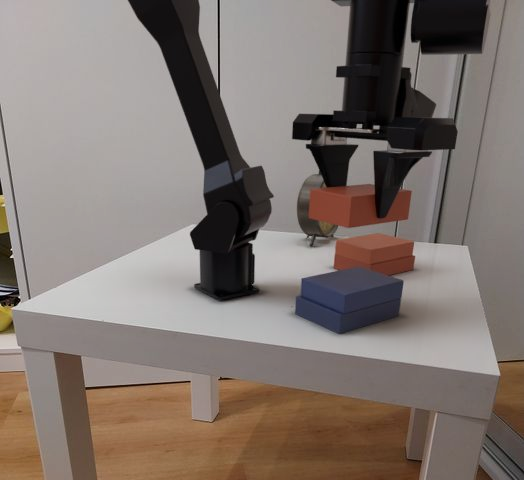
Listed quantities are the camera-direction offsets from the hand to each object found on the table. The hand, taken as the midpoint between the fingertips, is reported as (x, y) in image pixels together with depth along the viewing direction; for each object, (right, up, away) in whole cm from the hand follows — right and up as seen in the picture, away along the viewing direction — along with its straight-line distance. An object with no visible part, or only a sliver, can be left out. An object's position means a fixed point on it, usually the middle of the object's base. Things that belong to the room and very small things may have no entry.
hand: (359, 213), depth 60 cm
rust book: (0, -1, 0) cm, 1 cm away
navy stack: (-1, -11, +4) cm, 12 cm away
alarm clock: (-1, +5, +38) cm, 39 cm away
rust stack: (+6, -3, +22) cm, 23 cm away
